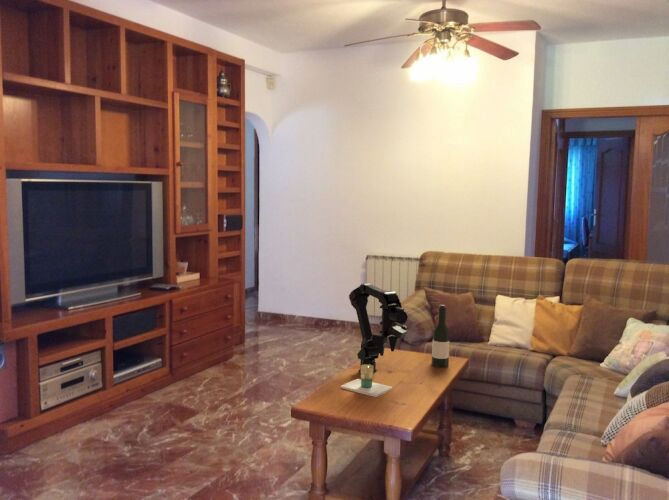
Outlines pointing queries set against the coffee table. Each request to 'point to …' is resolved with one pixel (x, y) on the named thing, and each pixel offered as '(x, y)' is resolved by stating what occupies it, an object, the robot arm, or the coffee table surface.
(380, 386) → the neck block
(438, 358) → the wine bottle
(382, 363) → the coffee table surface
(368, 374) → the cap
